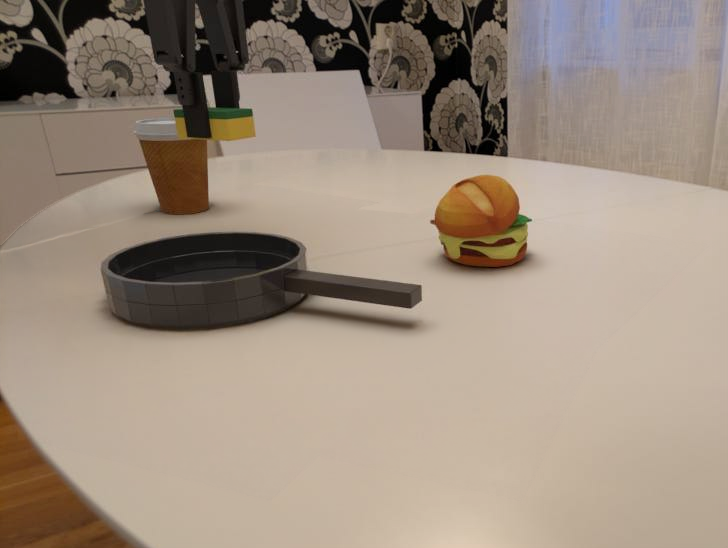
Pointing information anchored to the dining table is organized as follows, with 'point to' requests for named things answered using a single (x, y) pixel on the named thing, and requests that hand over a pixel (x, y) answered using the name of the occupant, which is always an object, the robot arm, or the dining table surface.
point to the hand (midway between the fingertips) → (215, 134)
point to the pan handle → (353, 288)
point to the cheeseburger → (482, 223)
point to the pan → (203, 279)
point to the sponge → (222, 124)
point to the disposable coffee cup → (175, 166)
